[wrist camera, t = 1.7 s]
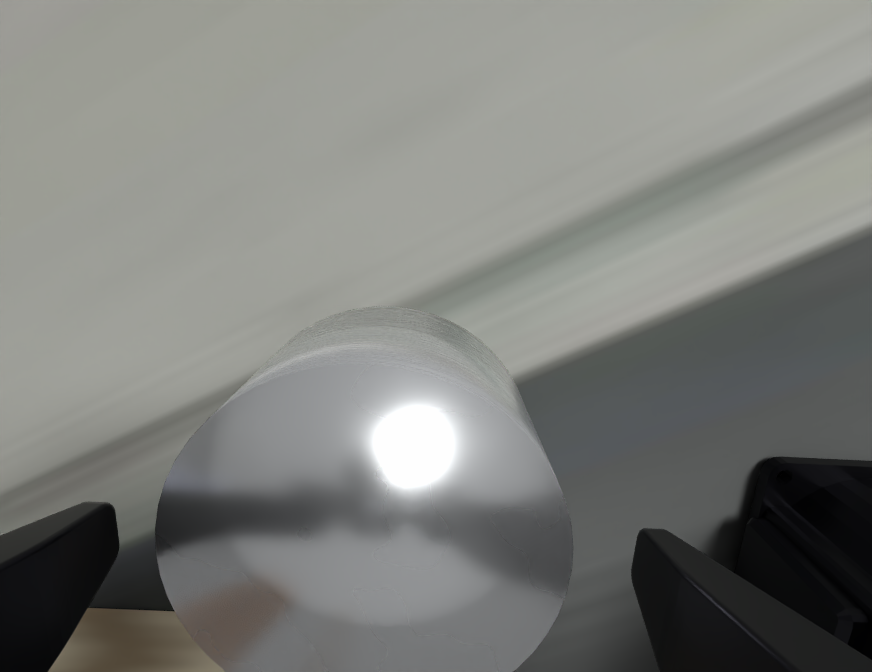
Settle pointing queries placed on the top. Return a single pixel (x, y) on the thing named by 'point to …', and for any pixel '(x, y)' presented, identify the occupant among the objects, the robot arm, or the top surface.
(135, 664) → the block
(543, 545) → the silver metal cylinder
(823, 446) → the top surface
